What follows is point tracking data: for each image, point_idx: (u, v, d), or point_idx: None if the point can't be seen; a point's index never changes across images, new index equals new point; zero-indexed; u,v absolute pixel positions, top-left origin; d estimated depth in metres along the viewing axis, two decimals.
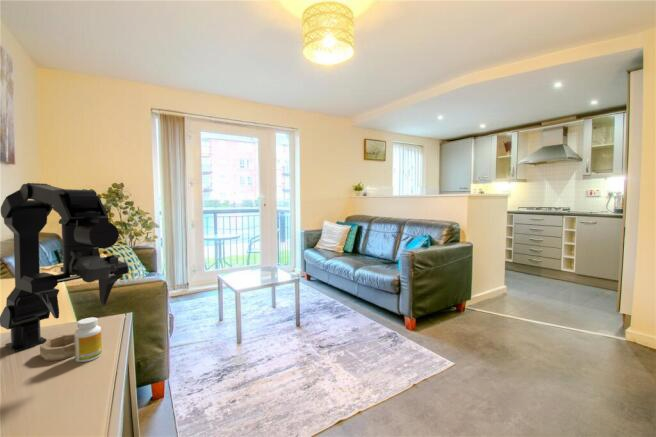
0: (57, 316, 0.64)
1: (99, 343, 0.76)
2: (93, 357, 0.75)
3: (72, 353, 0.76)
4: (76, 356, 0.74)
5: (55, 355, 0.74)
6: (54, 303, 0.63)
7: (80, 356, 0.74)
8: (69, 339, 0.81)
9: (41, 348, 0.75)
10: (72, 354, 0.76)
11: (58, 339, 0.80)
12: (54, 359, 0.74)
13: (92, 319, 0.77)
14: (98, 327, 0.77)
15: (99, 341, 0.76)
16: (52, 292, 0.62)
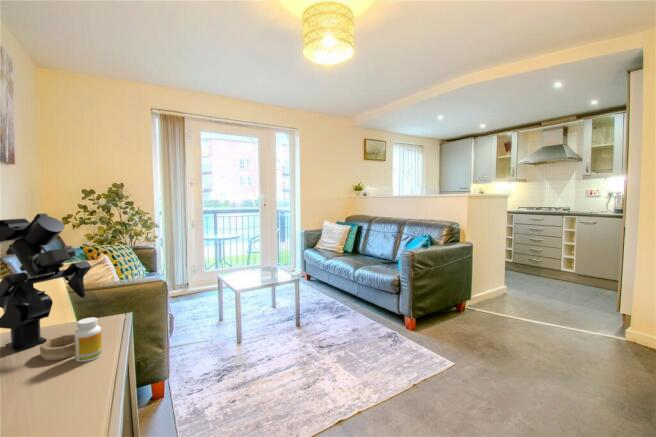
0: (43, 305, 0.73)
1: (99, 343, 0.76)
2: (93, 357, 0.75)
3: (72, 353, 0.76)
4: (76, 356, 0.74)
5: (55, 355, 0.74)
6: (34, 294, 0.72)
7: (80, 356, 0.74)
8: (69, 339, 0.81)
9: (41, 348, 0.75)
10: (72, 354, 0.76)
11: (58, 339, 0.80)
12: (54, 359, 0.74)
13: (92, 319, 0.77)
14: (98, 327, 0.77)
15: (99, 341, 0.76)
16: (27, 282, 0.72)
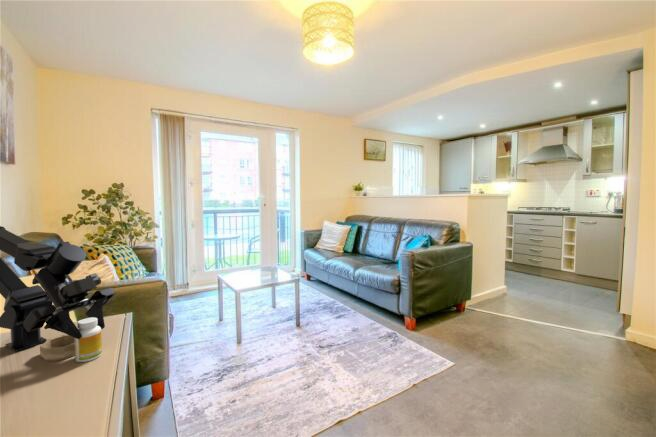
0: (80, 334, 0.73)
1: (99, 343, 0.76)
2: (93, 357, 0.75)
3: (72, 353, 0.76)
4: (76, 356, 0.74)
5: (55, 355, 0.74)
6: (71, 324, 0.72)
7: (80, 356, 0.74)
8: (69, 339, 0.81)
9: (41, 348, 0.75)
10: (72, 354, 0.76)
11: (58, 339, 0.80)
12: (54, 359, 0.74)
13: (92, 319, 0.77)
14: (98, 327, 0.77)
15: (99, 341, 0.76)
16: (63, 312, 0.72)
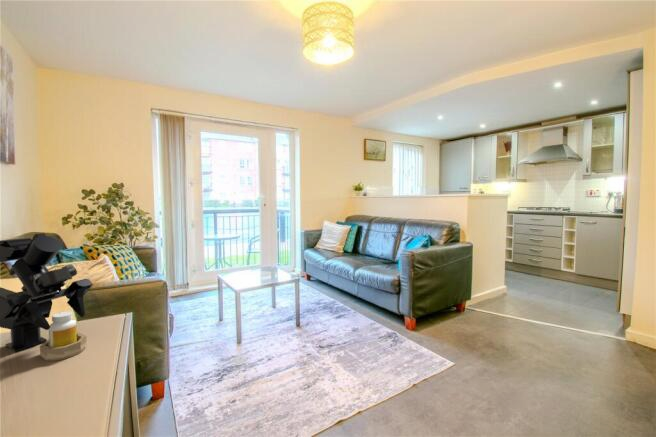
0: (48, 325, 0.73)
1: (74, 336, 0.78)
2: None
3: (72, 353, 0.76)
4: None
5: (55, 355, 0.74)
6: (39, 315, 0.73)
7: None
8: None
9: (41, 348, 0.75)
10: (72, 354, 0.76)
11: None
12: (54, 359, 0.74)
13: (67, 313, 0.78)
14: (73, 321, 0.79)
15: (74, 334, 0.78)
16: (31, 303, 0.72)
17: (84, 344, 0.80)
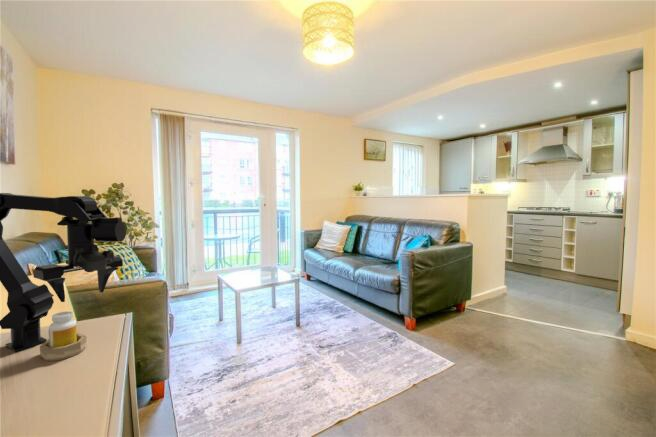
0: (63, 300, 0.79)
1: (74, 336, 0.78)
2: None
3: (72, 353, 0.76)
4: None
5: (55, 355, 0.74)
6: (61, 289, 0.78)
7: None
8: None
9: (41, 348, 0.75)
10: (72, 354, 0.76)
11: None
12: (54, 359, 0.74)
13: (67, 313, 0.78)
14: (73, 321, 0.79)
15: (74, 334, 0.78)
16: (59, 280, 0.76)
17: (84, 344, 0.80)
